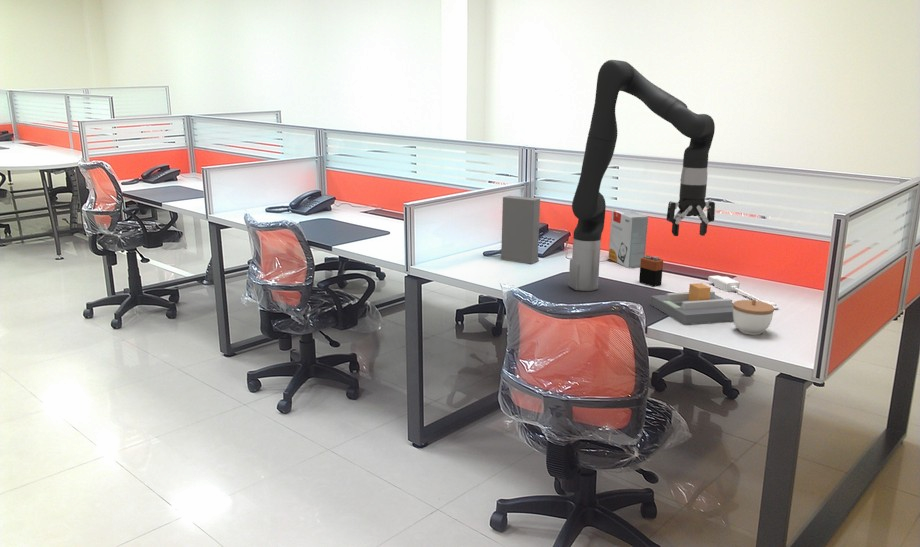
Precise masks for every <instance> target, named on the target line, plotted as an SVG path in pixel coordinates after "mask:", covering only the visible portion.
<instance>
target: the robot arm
mask: <svg viewBox="0 0 920 547" xmlns="http://www.w3.org/2000/svg"><path fill="white" fill-rule="evenodd" d="M620 92H624V93H627V94H629V95H632V96H633V97H635V98H637V99H638V100H640V101H641V102H642V103H643V104H644V105H645V106H646V107H647V108H648V109H649V110H650V111H651V112H652V113H654V114H655V115H657V116H658V117H659V118H661V119H663V120H665V121H666V122H668V123H670V124H671V125H672V126H673V128H675V129H676V130H677V131H678V132H679V133H681V134H682V135H683V136H685V137H687V138H689V139H690V141H689V145H688V146H687V147H686V148H685V150H684V152H683V157H682V158H683V159H682V170H681V174H680V180H679V182H680V186H679V199H678V202H676V201H669V202H668V206H667V213H666V221H667V222H669V223H671V224H672V225H671V234H672V235H673V236H674V237H679V233H680V232H679V231H680V223H681V221H682V220H683V219H684V218H685V217H698V218H699V220H700V221H701V222H700V223H699V235H700V236H701V237H704V236H705V235H706V234H707V232H708V224H709V223H711V222H714V221H715V217H716V216H715V214H716V213H715V210H716V203H715V202H714V201H711V200H708V201H706V196H707V195H706V194H707V184H708V163H709V153H710V149H711V147H712V143H713V140H714V136H715V130H716V129H715V128H716V126H715V125H716V124H715V121H714V119H713V117H712V116H711V115H710V114H707V113H695V112H694V111H693V110H691V109H689V108H688V105H687V104H686V103H685V102H684V101H682V100H681V99H679V98H678V97H675V96H674V95H673V94H670V93H669V92H667V91H666V90H664V89H662V88H661V87H659V86H657V85H655V83H653V82H651V81H650V80H649V79H647V78H646V77H645V76H644V75H643V74H642V73H640V72H639V71H638V70H637V69H636V68H635V67H634V66H633V65H631V64H630V63H629V62H627V61H624V60H617V59H609V60H606V61H605V62H604V63H603V64H602V65H601V66H600V68H599V70H598V74H597V78H596V89H595V98H594V105H593V111H592V115H591V120H590V126H589V130H588V134H587V140H586V143H585V150H584V155H583V159H582V164H581V171H580V174H579V175H580V176H579V178H578V183H577V185H576V186H577V187H576V189H575V192H574V196H573V198H572V203H571V208H572V209H571V210H572V213H573V215H574V216H575V218H577V220H578V221H577V224H576V226H575V228H574V230H573V240H572V258H570V259H569V270H568V286H569V287H570V288H571V289H572V290H574V291H582V292H591V291H595V290H598V288H599V279H600V278H599V277H600V276H599V275H600V263H601V262H600V260H601V243H602V234H603V231H604V227H605V218H606V209H607V208H606V207H607V206H606V200H605V196H604V195H603V194H602V193H601V192H600V189H601V183H602V181H603V177H604V176H605V173H606V171H607V170H608V168H609V165H610V163H611V161H612V159H613V157H614V153H615V149H616V145H617V140H618V122H617V116H616V105H617V102H618V96H619V93H620ZM677 208H679V210H677ZM704 208H706V214H705V212H704V211H703V210H704ZM676 210H677V212H676Z"/></svg>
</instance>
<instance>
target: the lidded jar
mask: <svg viewBox="0 0 920 547" xmlns="http://www.w3.org/2000/svg"><path fill="white" fill-rule="evenodd" d="M751 299H752V300H751ZM751 299H740V300H736V301H734V302H732V303H733V320H734V321H733V323H734V325H735V326H736V327H737V329H738V331H739V332H740V333H742V334H746V335H751V336H758V335H762V333H764V332H765V331H766V330H767V329H768V328H769V327H770V325H771V323H772V322H773V321H772V320H773V316H774V310H775V309H774V307H773V306H772V305H770V304H767V303H764V302H760V301H757V300H755V299H753V298H751Z"/></svg>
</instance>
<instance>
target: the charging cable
mask: <svg viewBox="0 0 920 547" xmlns="http://www.w3.org/2000/svg"><path fill="white" fill-rule="evenodd" d="M707 281H709V282H710V283H712V284H714V285H713V286H714V287H716V288H717V289H720V291H721V290H722V291H724V292H726V293H729V292H739V293H741V294H743V295H745V296H746V297H747V296H748V297H750V298H751V299H755V300H756V301H760V302H764V303H767V304H770V305H772V306H773V307H774V310H778V309H779V306H778V305H777V304H776V303H775V302H772V301H769V300H762V299H761V298H758V297H756V296H755V295H753V294H751V293H748V292H746V291H745V290H744V291H743V290H742V289H740V286H741V282H739V281H737V280H735V279H734V278H731V277H728V276H722V275H709V276H708V278H707Z"/></svg>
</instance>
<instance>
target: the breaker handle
mask: <svg viewBox="0 0 920 547" xmlns="http://www.w3.org/2000/svg"><path fill="white" fill-rule="evenodd" d="M688 289H689V290H688V292H689V297H688V300H690V301H701V300H709V298H710V291H711V287H710V286H708V285H706V284H704V283H702V282H699V283H689V288H688Z"/></svg>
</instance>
